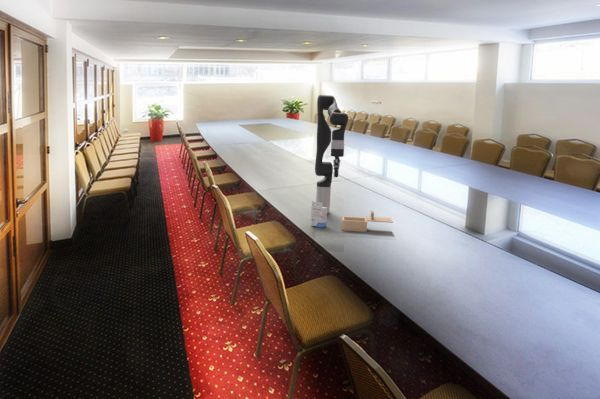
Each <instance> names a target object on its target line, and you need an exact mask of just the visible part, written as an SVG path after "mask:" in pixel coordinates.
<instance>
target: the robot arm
mask: <svg viewBox="0 0 600 399" xmlns="http://www.w3.org/2000/svg"><path fill="white" fill-rule="evenodd" d="M316 102H317V103H316V104H317V105H316V108H317V111H316V112H317V125H316V126H317V128H316V154H315V155H316V156H315V164H314V172H315V176H316V177H317V176H318V177H323V178H322V179H320V180H319V181H316V193H315V195H316V197H315V202H319V203H323V207H327V214H329V213H330V211H331V209H330V208H331V192H332V191H331V189H332V181H333V177H334V178H338V177H339V169H340V165H341V159H340V158H343V157H344V156H345V132H346V128H347V125H348V123H349V116H348V114H347V113H346V112H342V111H341V110H340V108H339V107H338V103H337V101H336V98H335V96H334V95H327V94H319V95H318V97H317V100H316ZM324 111H327V115H328V117H329V122H330V124H331V125H332V126H340V127H339V128H337V129H333V130H331V127H330V125H329V123H328V122H327V119H326V118H325V115H324ZM329 146H330V156H331V157H334V159H333V160H332V162H333V164H332V162H331V161H323V158H324V154H325V153H326V151H327V149H328V148H329ZM315 205H319V204H315Z"/></svg>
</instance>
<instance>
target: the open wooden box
mask: <svg viewBox="0 0 600 399" xmlns="http://www.w3.org/2000/svg"><path fill="white" fill-rule="evenodd" d="M341 218H342V223H341V231H342V232H343V231H344V232H345V231H346V232H348V231H349V232H359V233H366V232H367V231H368V229H367V228H368V221H367V219H366V217H359V216H358V217H357V216H355V217H354V216H342V217H341Z"/></svg>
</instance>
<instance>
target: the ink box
mask: <svg viewBox="0 0 600 399" xmlns="http://www.w3.org/2000/svg"><path fill="white" fill-rule="evenodd" d="M316 204H319V205H316ZM310 214H311V215H310V225H311V226H312V227H317V228H325V227H327V217H328V213H327V207H323V203H319V202H316V201H313V200H312V201H311V211H310Z"/></svg>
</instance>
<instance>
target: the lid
mask: <svg viewBox="0 0 600 399" xmlns="http://www.w3.org/2000/svg"><path fill="white" fill-rule="evenodd" d="M365 218H366V219H367V222H371V223H372V222H374V223H390V224H392V223H394V221H393V219H392V218H391V217H381V216H380V217H379V216H375V212H374V211H373V210H370V216H365Z"/></svg>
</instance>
